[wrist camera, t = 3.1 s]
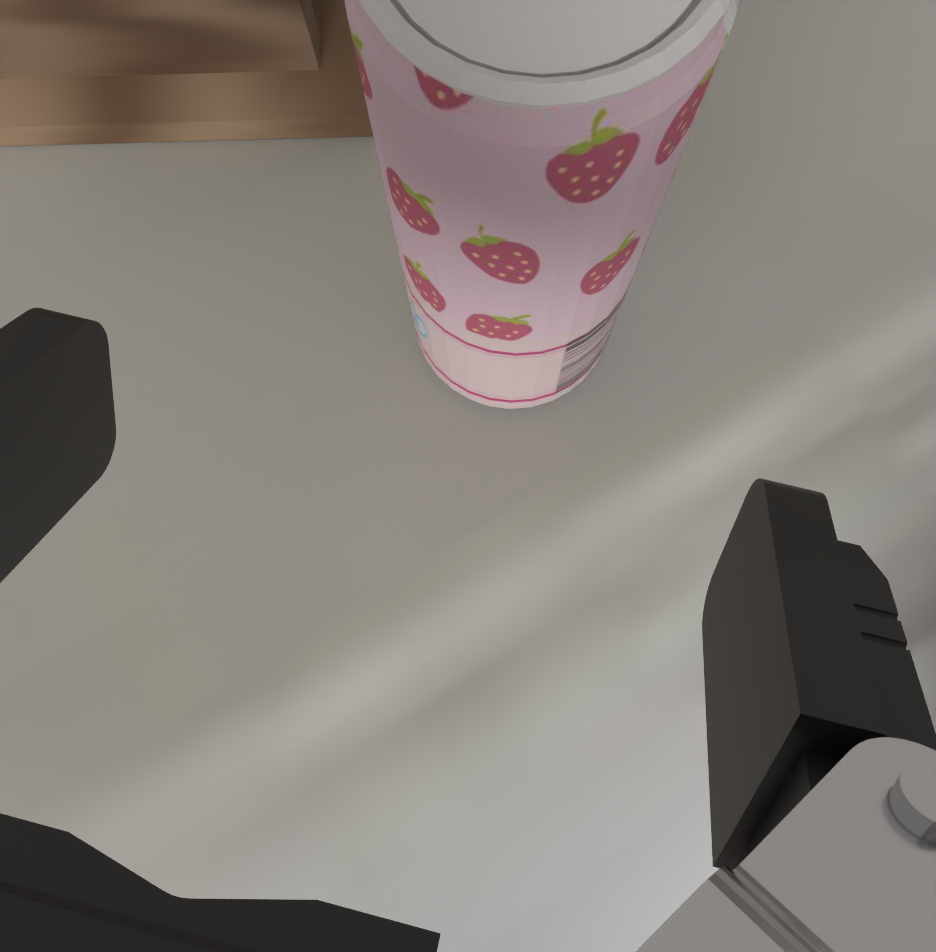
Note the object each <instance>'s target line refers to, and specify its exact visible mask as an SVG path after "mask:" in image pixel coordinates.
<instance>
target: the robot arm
mask: <svg viewBox="0 0 936 952" xmlns="http://www.w3.org/2000/svg"><path fill="white" fill-rule="evenodd" d="M115 439H116V424H115V413H114V402H113V391H112V379H111V368H110V357H109V346H108V339H107V335H106V332H105V330H104V328H103V327H102V325H101V324H100V323H98V322H96V321H93V320H89V319H84V318H80V317H76V316H72V315H67V314H63V313H59V312H54V311H50V310H46V309H42V308H33V309H30V310H28V311H26V312H25V313H23V314H22V315H20V316H19V317H17V318H16V319H14V320H13V321H11V322H10V323H8V324H7V325H5V326H4V327H3V328H1V329H0V583H1V582H2V581H3V579H4V578H5V577H6V576H7V575H8V574H9V573H10V572H11V571H12V570H13V569H14V568H15V567H16V566H17V565H18V564H19V563H20V562H21V560H22V559H23V558H24V557H25V556H26V555H27V554H28V553H29V552H30V551H31V550H32V549H33V548H34V547H35V546H36V545H37V544H38V543H39V541H40V540H41V539H42V538H43V537H44V536H45V535H46V534H47V533H48V532H49V531H50V530H51V529H52V528H53V527H54V526H55V525H56V524H57V522H58V521H59V520H60V519H61V518H62V517H63V516H64V515H65V514H66V513H67V512H68V511H69V510H70V509H71V508H72V507H73V506H74V505H75V503H76V502H77V501H78V500H79V499H80V498H81V497H82V496H83V495H84V494H85V493H86V492H87V491H88V490H89V489H90V488H91V487H92V486H93V484H94V483H95V482H96V481H97V480H98V479H99V478H100V477H101V476H102V474H103V473H104V471H105V470H106V468H107V466H108V464H109V462H110V459H111V456H112V453H113V450H114V445H115ZM897 616H898V611H897V608H896V605H895V602H894V599H893V595H892V592H891V589H890V586H889V583H888V580H887V578H886V577H885V576H884V575H883V573H882V572H881V571H880V570H879V569H878V567H877V566H876V565H875V564H874V562H873V561H872V560H871V559H870V557H869V556H868V555H867V554H866V552H865V551H864V550H863V549H862V548H861V546H859V545H855V544H850V543H846V542H842V541H838V540H837V537H836V533H835V529H834V525H833V522H832V518H831V514H830V510H829V506H828V502H827V499H826V496H825V495H824V494H823V493H820V492H816V491H812V490H808V489H803V488H799V487H795V486H791V485H786V484H782V483H778V482H773V481H769V480H765V479H761V478H760V479H757V480H756V481H755V482H754V483H753V484H752V486H751V487H750V489H749V491H748V493H747V495H746V497H745V500H744V502H743V505H742V507H741V509H740V512H739V514H738V516H737V519H736V521H735V523H734V526H733V528H732V530H731V533H730V535H729V538H728V540H727V542H726V545H725V547H724V549H723V552H722V554H721V556H720V559H719V561H718V563H717V566H716V568H715V570H714V573H713V575H712V578H711V581H710V584H709V587H708V591H707V595H706V599H705V604H704V611H703V621H702V633H703V655H704V677H705V700H706V722H707V744H708V766H709V789H710V811H711V833H712V856H713V867H717V868H720V869H719V870H718V871H716V872H715V873H714V874H713V875H712V876H711V877H710V878H708V879H707V880H706V881H705V882H704V883H703V884H702V885H701V886H700V887H699V888H698V889H697V890H696V891H695V892H694V893H693V894H692V895H691V896H690V897H689V898H688V899H687V900H686V901H685V902H684V903H683V904H682V905H681V906H680V907H679V908H678V909H677V910H676V911H675V912H674V913H673V914H672V915H671V916H670V917H669V918H668V919H667V920H666V921H665V922H664V924H663V925H662V926H661V927H660V928H659V929H658V930H657V931H656V932H655V933H654V934H653V935H652V936H651V937H650V938H649V939H648V940H647V941H646V942H645V943H644V944H643V945H642V946H641V947H640V948H639V949H638V950H637V951H636V952H936V733H935V730H934V727H933V724H932V721H931V717H930V714H929V711H928V708H927V705H926V701H925V698H924V695H923V692H922V688H921V685H920V682H919V679H918V676H917V672H916V669H915V666H914V663H913V660H912V656H911V653H910V650H906V645H907V640H906V637H905V634H904V631H903V627H902V624H901V621H898V620H897ZM439 938H440V933H436V932H433V931H429V930H425V929H422V928H418V927H414V926H411V925H407V924H403V923H400V922H396V921H392V920H389V919H385V918H381V917H378V916H374V915H370V914H367V913H363V912H359V911H356V910H352V909H348V908H345V907H341V906H337V905H334V904H330V903H326V902H323V901H319V900H268V899H188V898H180V897H176V896H173V895H170V894H168V893H166V892H164V891H163V890H161V889H159V888H158V887H156V886H155V885H153V884H151V883H150V882H148V881H147V880H145V879H143V878H142V877H140V876H138V875H137V874H135V873H134V872H132V871H130V870H129V869H127V868H126V867H124V866H122V865H121V864H119V863H117V862H116V861H114V860H113V859H111V858H109V857H108V856H106V855H105V854H103V853H101V852H100V851H98V850H97V849H95V848H93V847H92V846H90V845H88V844H87V843H85V842H84V841H82V840H80V839H79V838H77V837H76V836H74V835H72V834H71V833H69V832H66V831H63V830H59V829H55V828H52V827H48V826H44V825H41V824H37V823H33V822H30V821H26V820H22V819H19V818H15V817H11V816H8V815H4V814H0V952H437V948H438V943H439Z"/></svg>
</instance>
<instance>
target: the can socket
mask: <svg viewBox="0 0 936 952" xmlns="http://www.w3.org/2000/svg"><path fill="white" fill-rule="evenodd" d="M354 136H373V132H372V128H371V123H370V118H369V114H368V109H367V105H366V100H365V96H364V91H363V86H362V82H361V77H360V73H359V68H358V64H357V59H356V54H355V50H354V45H353V41H352V36H351V31H350V27H349V22H348V18H347V12H346V7H345V1H344V0H0V146H21V145H58V144H95V143H132V142H169V141H206V140H243V139H280V138H317V137H354Z"/></svg>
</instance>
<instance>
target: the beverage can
mask: <svg viewBox="0 0 936 952" xmlns="http://www.w3.org/2000/svg"><path fill="white" fill-rule="evenodd" d="M344 1H345V7H346V12H347V18H348V22H349V27H350V31H351V36H352V41H353V45H354V50H355V54H356V59H357V64H358V68H359V73H360V77H361V82H362V86H363V91H364V96H365V100H366V105H367V109H368V114H369V118H370V123H371V128H372V132H373V137H374V141H375V146H376V151H377V155H378V160H379V164H380V169H381V173H382V178H383V183H384V187H385V192H386V196H387V201H388V206H389V210H390V215H391V219H392V224H393V228H394V233H395V238H396V242H397V247H398V251H399V256H400V260H401V265H402V270H403V274H404V279H405V283H406V288H407V293H408V297H409V302H410V306H411V311H412V315H413V320H414V325H415V329H416V334H417V338H418V342H419V344H420V347H421V349H422V351H423V354H424V356H425V358H426V360H427V361H428V363H429V364H430V366H431V367H432V369H433V370H434V371H435V373H436V374H437V375H438V376H439V377H440V378H441V379H442V380H443V381H444V382H445V383H446V384H447V385H448V386H449V387H451V388H452V389H453V390H455V391H456V392H458V393H460V394H462V395H463V396H465V397H467V398H468V399H470V400H473V401H476V402H479V403H482V404H485V405H488V406H492V407H500V408H508V409H513V408H526V407H533V406H537V405H540V404H544V403H547V402H551V401H553V400H555V399H556V398H558V397H560V396H562V395H564V394H566V393H568V392H570V391H571V390H572V389H573V388H574V387H576V386H577V385H578V384H579V383H580V382H581V381H583V380H584V379H585V378H586V377H587V375H588V374H589V373H590V371H591V370H592V369H593V368H594V366H595V365H596V364H597V362H598V360H599V358H600V356H601V354H602V352H603V350H604V348H605V345H606V343H607V341H608V338H609V336H610V333H611V331H612V328H613V325H614V323H615V320H616V318H617V315H618V313H619V310H620V308H621V305H622V303H623V300H624V298H625V295H626V293H627V290H628V288H629V285H630V283H631V280H632V278H633V275H634V273H635V270H636V268H637V265H638V263H639V260H640V258H641V255H642V253H643V250H644V248H645V245H646V243H647V240H648V238H649V235H650V233H651V230H652V228H653V225H654V223H655V220H656V218H657V215H658V213H659V210H660V207H661V205H662V202H663V200H664V197H665V195H666V192H667V190H668V187H669V185H670V182H671V180H672V177H673V175H674V172H675V170H676V167H677V165H678V162H679V160H680V157H681V155H682V152H683V150H684V147H685V145H686V142H687V140H688V137H689V135H690V132H691V130H692V127H693V125H694V122H695V120H696V117H697V115H698V112H699V110H700V107H701V105H702V102H703V100H704V97H705V95H706V92H707V89H708V87H709V84H710V82H711V79H712V77H713V74H714V72H715V69H716V67H717V64H718V62H719V59H720V57H721V54H722V52H723V49H724V47H725V44H726V42H727V39H728V37H729V34H730V32H731V29H732V27H733V24H734V22H735V17H736V13H737V8H738V3H739V0H344Z"/></svg>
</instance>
